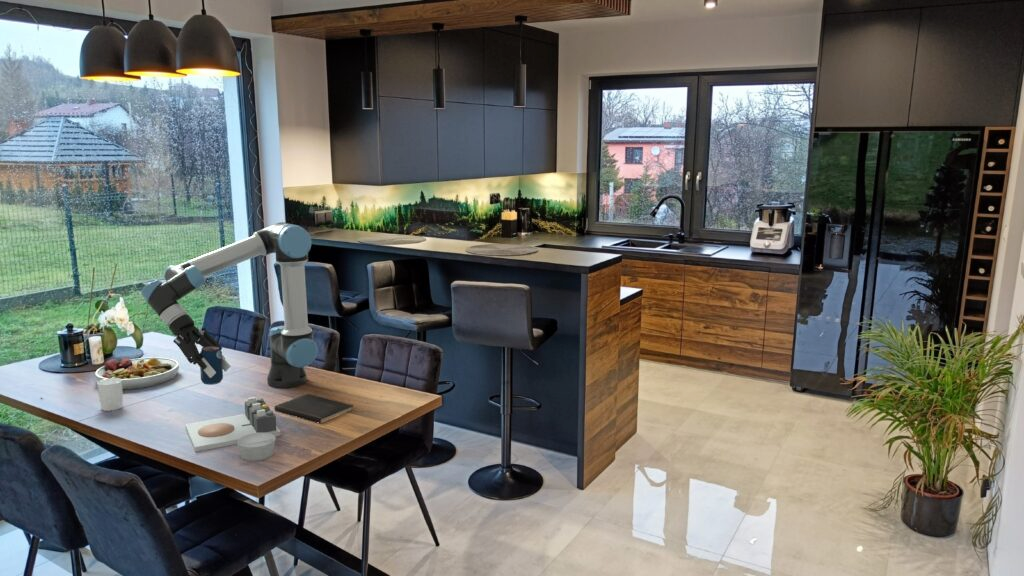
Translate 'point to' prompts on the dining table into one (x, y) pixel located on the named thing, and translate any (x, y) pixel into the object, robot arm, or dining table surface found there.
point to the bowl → (139, 371)
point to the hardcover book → (313, 408)
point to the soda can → (212, 364)
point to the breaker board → (233, 426)
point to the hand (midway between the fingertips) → (220, 372)
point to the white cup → (110, 393)
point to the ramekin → (256, 446)
